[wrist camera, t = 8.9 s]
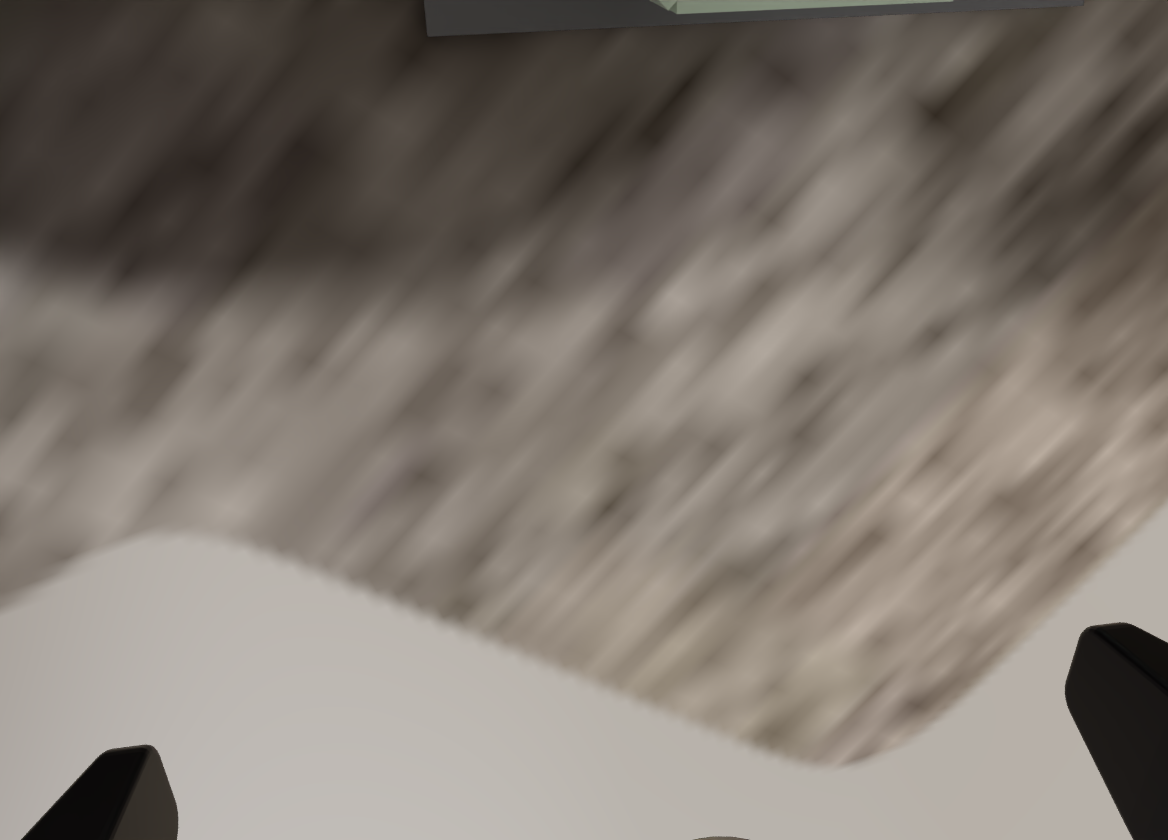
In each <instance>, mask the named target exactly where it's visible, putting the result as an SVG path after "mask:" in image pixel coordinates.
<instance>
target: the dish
mask: <svg viewBox="0 0 1168 840" xmlns="http://www.w3.org/2000/svg"><path fill="white" fill-rule="evenodd" d="M649 1H651V2H653V3H655V4H657V5H659V6H661V7H662V8H664V9H666V10H670V11H672V12H674V13H676V14H691V13H712V12H734V11H756V10H778V9H799V8H821V7H843V6H865V5H886V4H908V3H930V2H952V1H953V0H649Z"/></svg>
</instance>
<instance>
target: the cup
mask: <svg viewBox="0 0 1168 840" xmlns="http://www.w3.org/2000/svg"><path fill="white" fill-rule="evenodd" d="M695 840H748V839H742V838H736V837H707V838H700V839H695Z"/></svg>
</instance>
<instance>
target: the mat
mask: <svg viewBox="0 0 1168 840" xmlns="http://www.w3.org/2000/svg"><path fill="white" fill-rule="evenodd" d="M1083 4H1084V0H953V1H952V2H930V3H908V4H886V5H865V6H843V7H821V8H799V9H778V10H756V11H734V12H712V13H691V14H676V13H674V12H672V11H670V10H666V9H664V8H662V7H661V6H659V5H657V4H655V3H653V2H651V1H649V0H424V8H425V18H426V28H427V37H433V36H454V35H475V34H496V33H517V32H538V31H559V30H581V29H602V28H623V27H644V26H665V25H686V24H707V23H729V22H750V21H771V20H792V19H813V18H834V17H855V16H877V15H898V14H919V13H940V12H961V11H982V10H1003V9H1025V8H1046V7H1067V6H1083Z"/></svg>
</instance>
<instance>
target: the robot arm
mask: <svg viewBox="0 0 1168 840" xmlns="http://www.w3.org/2000/svg"><path fill="white" fill-rule="evenodd" d="M1065 697H1066V702H1067V706H1068V709H1069V711H1070V713H1071V715H1072V717H1073V719H1074V721H1075V723H1076V725H1077V728H1078V730H1079V732H1080V733H1081V736H1082V738H1083V740H1084V742H1085V744H1086V746H1087V748H1088V750H1089V752H1090V754H1091V756H1092V758H1093V760H1094V762H1095V764H1096V766H1097V768H1098V770H1099V772H1100V774H1101V776H1102V778H1103V780H1104V782H1105V784H1106V786H1107V788H1108V790H1109V792H1110V794H1111V796H1112V798H1113V800H1114V802H1115V804H1116V806H1117V809H1118V811H1119V813H1120V815H1121V817H1122V818H1123V820H1124V823H1125V825H1126V826H1127V828H1128V830H1129V832H1130V834H1131V836H1132V838H1133V840H1168V643H1167V642H1165V641H1163V640H1161V639H1159V638H1157V637H1155V636H1154V635H1152V634H1150V633H1148V632H1146V631H1144V630H1142V629H1140V628H1138V627H1136V626H1134V625H1132V624H1128V623H1121V622H1119V623H1111V624H1103V625H1095V626H1090V627H1088V628H1086V629H1085V630H1084V631H1083V632H1082V633H1081V635H1080V637H1079V640H1078V644H1077V647H1076V651H1075V653H1074V657H1073V660H1072V663H1071V666H1070V670H1069V673H1068V676H1067V680H1066V684H1065ZM177 834H178V811H177V805H176V802H175V798H174V796H173V793H172V790H171V787H170V784H169V781H168V778H167V775H166V773H165V769H164V767H163V764H162V761H161V758H160V755H159V753H158V751H157V750H156V749H155V748H154V747H153V746H151V745H139V746H131V747H123V748H116V749H110V750H107V751H105V752H104V753H102V754H101V755H100V756H99V757H98V758H97V759H96V760H95V761H94V762H93V763H92V764H91V765H90V766H89V767H88V768H87V769H86V770H85V771H84V772H83V774H82V775H81V776H80V777H79V778H78V779H77V780H76V781H75V782H74V783H73V784H72V785H71V786H70V788H69V789H68V790H67V791H66V792H65V793H64V794H63V795H62V796H61V797H60V798H59V799H58V800H57V801H56V803H55V804H54V805H53V806H52V807H51V808H50V809H49V810H48V811H47V812H46V813H45V814H44V815H43V816H42V818H41V819H40V820H39V821H38V822H37V823H36V824H35V825H34V826H33V827H32V828H31V829H30V830H29V831H28V833H27V834H26V835H25V836H24V837H23V838H22V839H21V840H177Z"/></svg>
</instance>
